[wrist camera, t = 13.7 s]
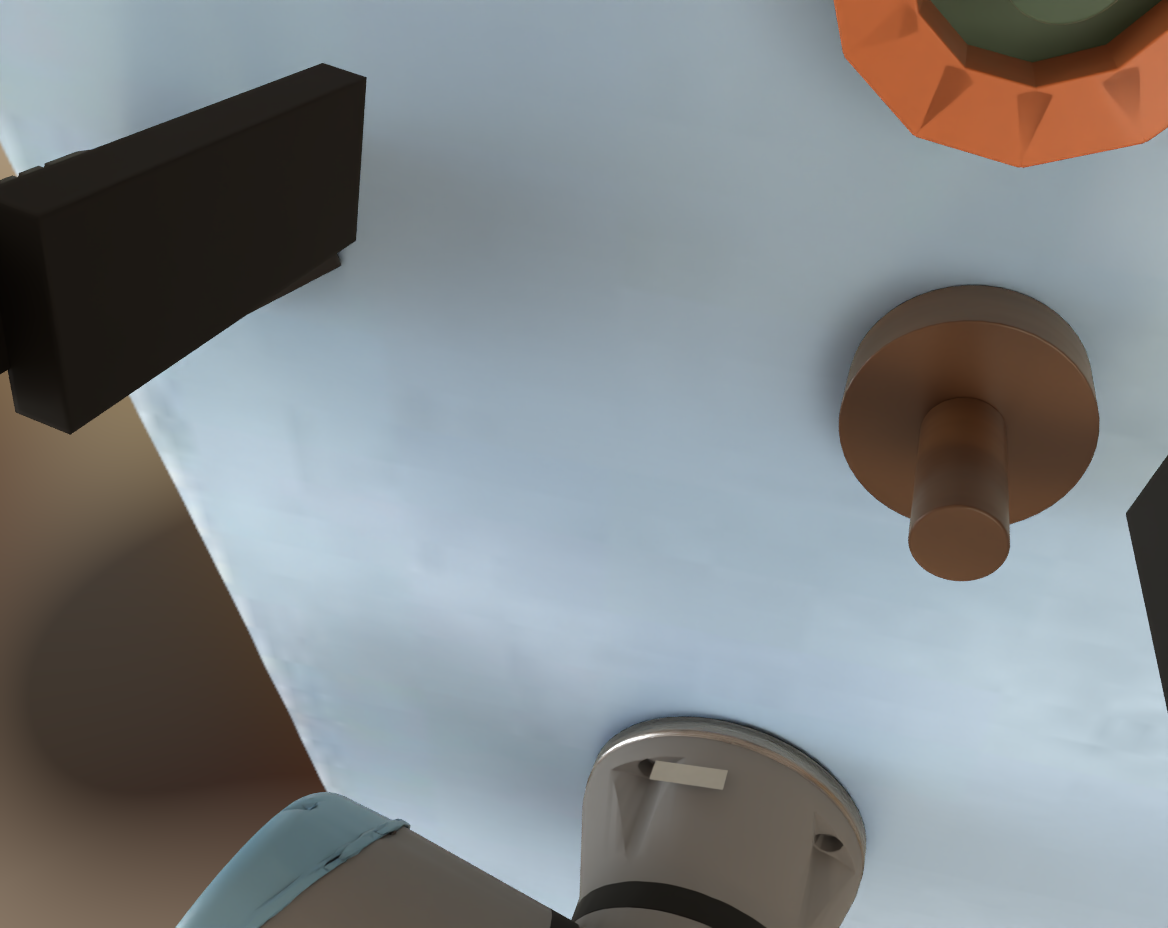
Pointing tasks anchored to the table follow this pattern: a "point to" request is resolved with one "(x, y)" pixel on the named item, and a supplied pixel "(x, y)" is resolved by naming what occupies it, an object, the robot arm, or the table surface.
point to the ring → (1009, 84)
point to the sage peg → (1041, 24)
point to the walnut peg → (968, 420)
